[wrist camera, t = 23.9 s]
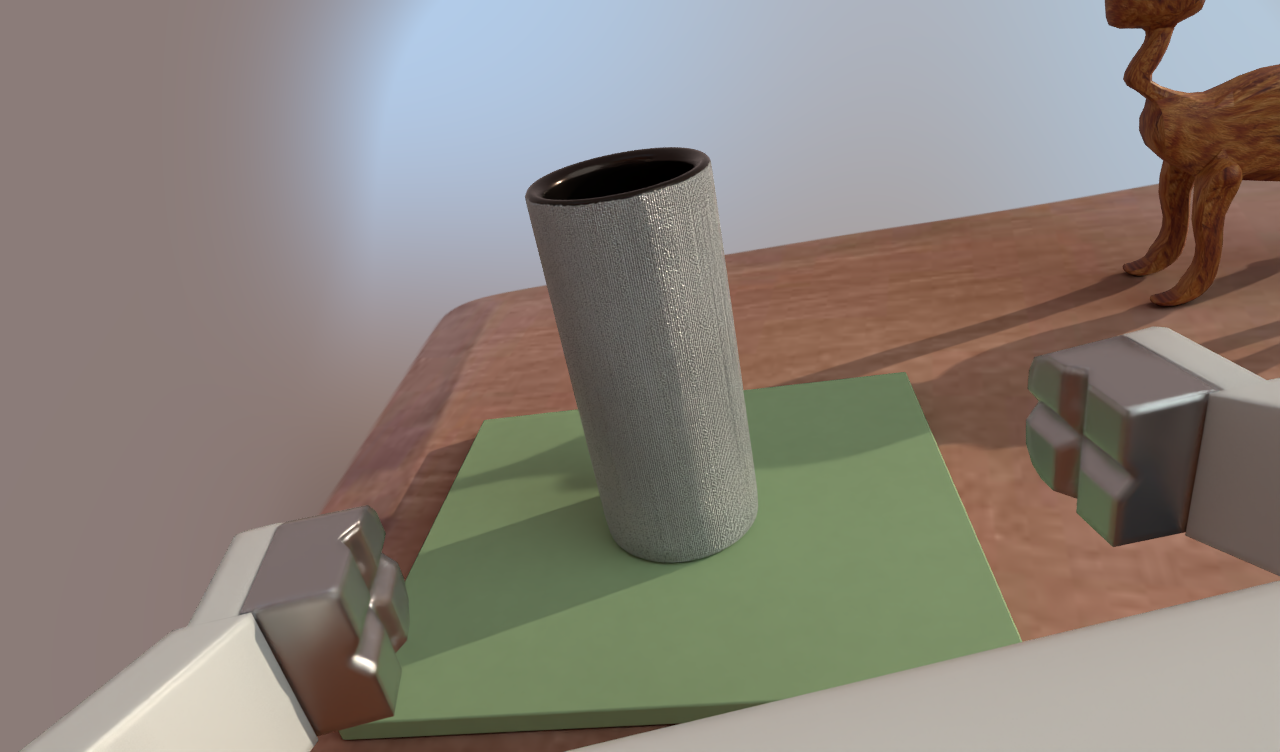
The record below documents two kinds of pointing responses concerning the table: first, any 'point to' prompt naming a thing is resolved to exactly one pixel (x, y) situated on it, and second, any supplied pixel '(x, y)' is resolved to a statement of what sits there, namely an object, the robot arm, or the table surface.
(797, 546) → the sage mat
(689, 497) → the planter
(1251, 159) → the cat figurine
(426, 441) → the table surface
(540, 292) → the table surface
